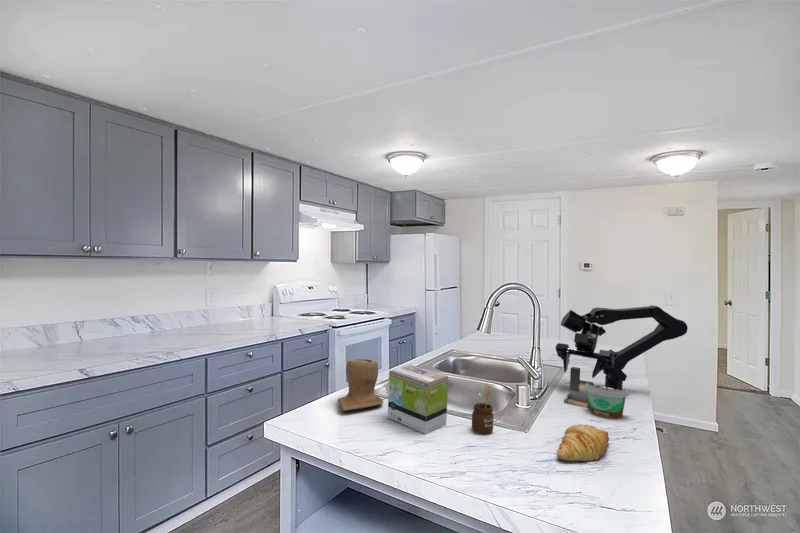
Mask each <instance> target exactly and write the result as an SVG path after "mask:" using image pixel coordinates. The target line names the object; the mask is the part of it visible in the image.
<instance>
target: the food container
mask: <svg viewBox="0 0 800 533" xmlns="http://www.w3.org/2000/svg"><path fill="white" fill-rule="evenodd" d="M585 389H586V390H587V396H588V408H587V410H588V411H589V413H591V414H592V415H595V416H597V417H600V418H603V419H604V418H605V419H611V420H613V419H616V420H617V419H620V418H622V417H623V415H624V414H623V413H624V408H625V403H626V398H627V397H629V390H628V387H626V388H625V389H622V390H619V389H614V388H611V387H607V386H605V385H599V386H598V385H589V384H588V383H587V384H585Z"/></svg>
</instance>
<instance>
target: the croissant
mask: <svg viewBox="0 0 800 533" xmlns="http://www.w3.org/2000/svg"><path fill="white" fill-rule="evenodd" d="M608 432H609V431H608ZM608 432H607V431H605V430H603V429H598V428H597V427H595V426H593V425H588V424H574V425H573V424H572V425H571V426H569V427H567V428H566V429H565V431H564V434H563V437H562V438H561V439H562V440H561V442H560V443H559V445H558V449H557V450H556V457H557V458H558V459H559V460H561V461H562V460H563V461H569V462H570V461H571V462H585V461H587V462H588V461H590V462H591V461H597V460H599V458H600V457H602V456H603V454H604V453H605V452H606V451H605V450H606V448H607V447H608V443H609V442H610V437H609V433H608Z"/></svg>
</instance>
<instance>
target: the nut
mask: <svg viewBox="0 0 800 533" xmlns="http://www.w3.org/2000/svg"><path fill="white" fill-rule="evenodd" d="M579 390H583V391H587V390H586V389H585V384H583V383H580V385H579Z"/></svg>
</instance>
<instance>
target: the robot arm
mask: <svg viewBox="0 0 800 533" xmlns="http://www.w3.org/2000/svg"><path fill="white" fill-rule="evenodd" d="M649 318H650V319H651V318H652V319H653V320H654V321H656V322H657V323H658V324H657V325H656V326H655V328H654V330H653V331H651V332H649V333H648V334H646V335H644V336H643V337H641V338H639V339H637V340H636V341H634V342H633V343H630V344H629V345H627V346H626V347H624V348H622V349H621V350H618V351H614V350H613V349H609V350H605V349H599V351H598V353H597V352H595V349H596V348H597V342H598V339H599V336H600V337H601V336H602V335H604V334H606V332H607V331H606V330H605V329H604V327H603V326H605V325H609V324H613V323H616V322H618V321H624V320H637V319H649ZM599 325H600V326H599ZM560 326H562V327H563V328H565V329H567V330H568V331H571V332H573V333H574V339H573V342H574V343H575V344H574V347H575V349H574V348H571V347H570V345H569V344H566V343H560V342H558V343H557V344H556V346H555V352H556V354H557V357H559V358H560V359H561V360H562V362H563V372H564V373H567V371H568V367H569V364H570V357H571V355H573V356H578V357H579V356H580V357H583V358H587V359H588V358H589V359H594V360H596V362H595V366H594V368H593V370H592V373H591V374H592V375H591V377H592V379H594V378H595V377H596V376H597V375H599V373H600V372H603V374H604V375H605V376H604V378H605V379H604V386H607V387H611V388H614V389H619V390H623V382H625V381H626V380H627V377H628V375H627V374H626V373H625V371H623V370H624V369H625V367H626V366H627V364H628V363H629V362H630V361H632V360H633V359H635V358H637V357H639V356H640V355H643V354H644V353H646V352H648V351H649V350H651V349H652V348H654V347H656V346H657V345H659V344H661V343H663V342H665V341H670V340H674V339H677V338H680V337H683V336H685V335H686V334H687V333H688V324H687V323H686V322H685V320H684V321H683V320H682V319H678V318H676V317H674V316H673V315H671V314H669V313H668V312H666V311H665V310H664V309H662V308H661V307H659V306H657V305H648V306H639V307H637V306H636V307H628V308H627V307H626V308H608V307H607V308H606V307H594V308H592V309H591V310H590V311H589V312H587V313H585V314H583V315H580V314H579V313H576V311H573V310H572V309H570V310H569V311H568V312H567V313H566V314H565V315H564V316H563V317H562V319H561V323H560Z"/></svg>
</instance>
